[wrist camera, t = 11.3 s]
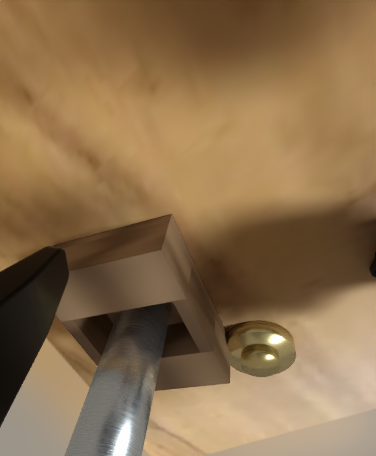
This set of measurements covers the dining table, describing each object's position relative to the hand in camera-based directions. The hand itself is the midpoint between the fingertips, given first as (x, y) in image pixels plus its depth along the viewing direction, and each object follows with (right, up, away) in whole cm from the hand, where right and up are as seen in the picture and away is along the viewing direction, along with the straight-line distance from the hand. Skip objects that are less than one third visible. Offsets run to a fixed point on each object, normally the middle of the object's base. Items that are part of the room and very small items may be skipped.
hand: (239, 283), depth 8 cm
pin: (-5, -5, +19) cm, 20 cm away
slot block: (-5, -4, +19) cm, 20 cm away
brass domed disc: (+5, -9, +21) cm, 24 cm away
